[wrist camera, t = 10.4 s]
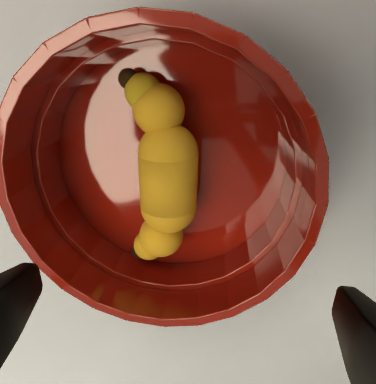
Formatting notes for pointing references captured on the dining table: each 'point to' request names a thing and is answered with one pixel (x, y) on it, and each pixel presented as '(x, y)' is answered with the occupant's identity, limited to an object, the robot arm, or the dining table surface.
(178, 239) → the banana
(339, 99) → the dining table surface
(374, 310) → the robot arm
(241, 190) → the bowl
